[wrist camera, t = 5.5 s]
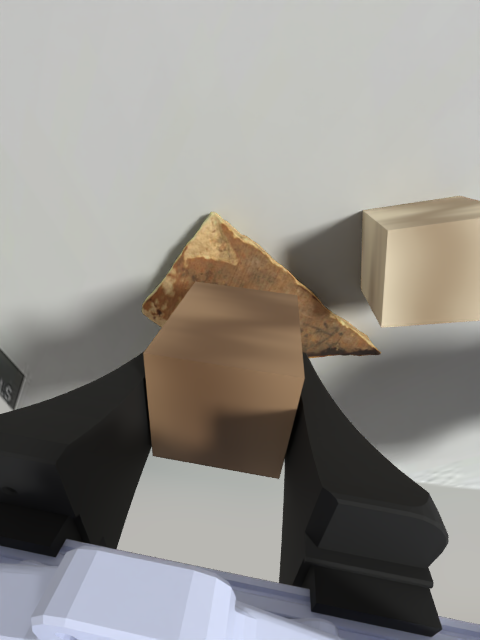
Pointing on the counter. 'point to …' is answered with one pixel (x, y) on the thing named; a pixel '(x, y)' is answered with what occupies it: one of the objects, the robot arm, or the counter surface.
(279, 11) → the counter surface
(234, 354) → the walnut block
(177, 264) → the shard
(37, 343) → the counter surface
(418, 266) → the maple block
